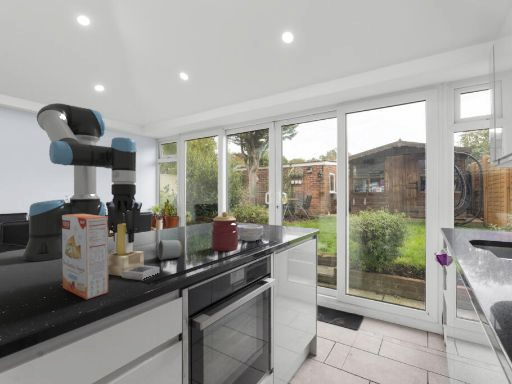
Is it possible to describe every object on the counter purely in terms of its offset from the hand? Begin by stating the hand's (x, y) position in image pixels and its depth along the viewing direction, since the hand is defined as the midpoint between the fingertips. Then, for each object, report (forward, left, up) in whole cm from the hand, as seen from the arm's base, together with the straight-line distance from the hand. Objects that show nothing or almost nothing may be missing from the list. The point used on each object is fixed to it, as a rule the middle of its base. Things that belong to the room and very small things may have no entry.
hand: (123, 251), depth 92 cm
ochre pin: (0, 0, -7) cm, 7 cm away
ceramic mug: (+3, +21, -7) cm, 22 cm away
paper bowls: (+22, +70, -7) cm, 74 cm away
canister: (+18, +44, -7) cm, 48 cm away
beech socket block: (0, 0, -7) cm, 7 cm away
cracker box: (+4, -18, -7) cm, 20 cm away
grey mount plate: (+9, -2, -7) cm, 11 cm away
